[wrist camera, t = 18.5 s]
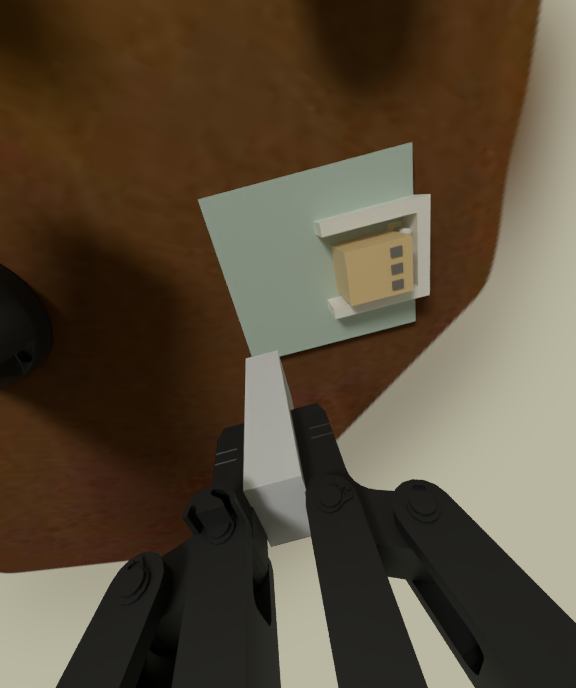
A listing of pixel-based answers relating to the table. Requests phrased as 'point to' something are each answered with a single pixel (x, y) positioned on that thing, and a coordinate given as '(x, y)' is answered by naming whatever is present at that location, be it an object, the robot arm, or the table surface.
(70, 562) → the table surface
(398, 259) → the plug
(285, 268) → the board
